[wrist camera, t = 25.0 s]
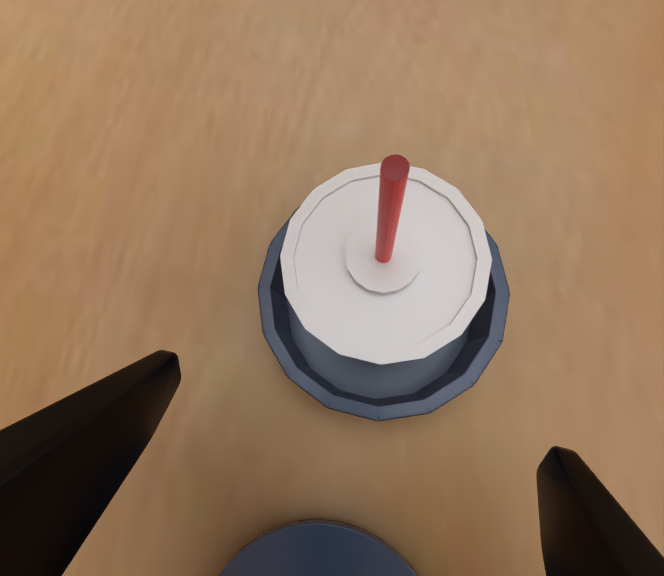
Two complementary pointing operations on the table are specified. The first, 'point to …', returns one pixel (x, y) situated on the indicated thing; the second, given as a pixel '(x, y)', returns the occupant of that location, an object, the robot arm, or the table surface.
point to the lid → (317, 553)
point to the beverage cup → (385, 262)
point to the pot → (374, 379)
